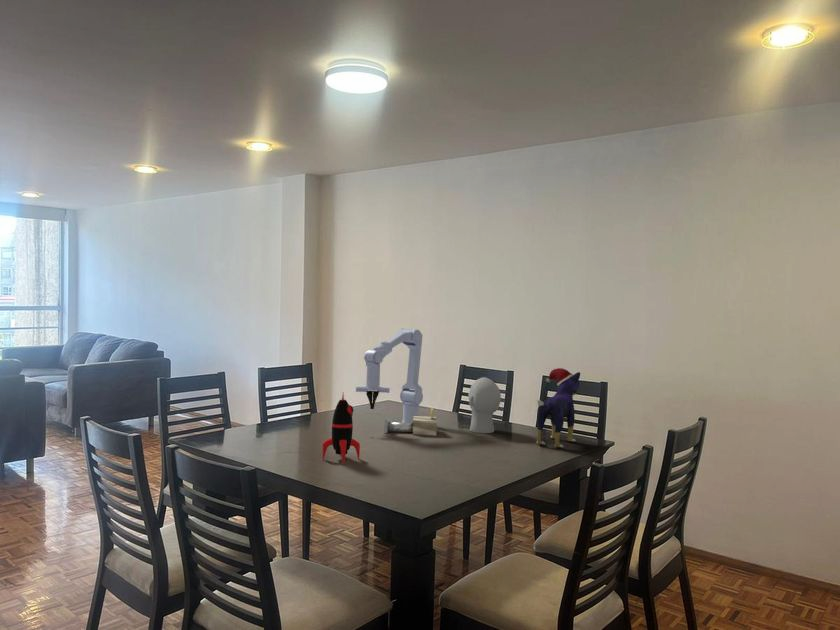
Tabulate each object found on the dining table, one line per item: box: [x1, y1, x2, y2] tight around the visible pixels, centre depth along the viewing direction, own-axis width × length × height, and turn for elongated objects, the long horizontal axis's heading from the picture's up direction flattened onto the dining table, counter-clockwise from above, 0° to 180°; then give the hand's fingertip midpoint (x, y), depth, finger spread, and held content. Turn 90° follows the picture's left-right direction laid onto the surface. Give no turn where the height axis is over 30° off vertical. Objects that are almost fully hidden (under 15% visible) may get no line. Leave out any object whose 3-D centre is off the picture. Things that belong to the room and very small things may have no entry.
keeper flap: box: [430, 407, 434, 420], centre depth 271 cm, size 6×1×4 cm, turn 1°
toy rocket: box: [322, 393, 361, 464], centre depth 223 cm, size 10×10×25 cm
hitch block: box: [412, 415, 438, 436], centre depth 272 cm, size 10×10×6 cm
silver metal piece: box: [383, 415, 413, 434], centre depth 271 cm, size 7×14×6 cm, turn 91°
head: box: [467, 376, 502, 434], centre depth 279 cm, size 14×18×25 cm
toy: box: [536, 367, 581, 449], centre depth 259 cm, size 16×40×30 cm, turn 146°
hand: (372, 408), depth 271 cm, fingers closed
